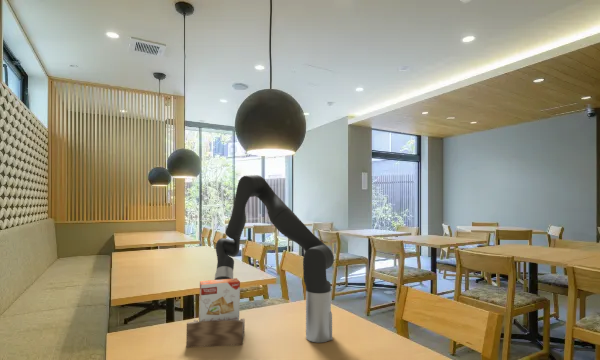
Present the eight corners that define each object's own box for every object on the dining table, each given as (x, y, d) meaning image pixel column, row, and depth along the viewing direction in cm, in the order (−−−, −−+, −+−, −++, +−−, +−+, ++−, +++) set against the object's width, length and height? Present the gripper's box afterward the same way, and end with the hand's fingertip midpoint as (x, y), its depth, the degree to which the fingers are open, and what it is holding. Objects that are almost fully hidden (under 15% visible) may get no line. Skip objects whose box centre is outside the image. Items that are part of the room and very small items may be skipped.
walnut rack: (244, 331, 128) (244, 310, 129) (242, 344, 117) (242, 321, 117) (193, 333, 126) (194, 312, 127) (186, 347, 115) (186, 323, 115)
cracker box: (199, 345, 116) (200, 284, 118) (198, 338, 122) (199, 280, 123) (239, 339, 122) (240, 280, 123) (236, 332, 127) (237, 277, 129)
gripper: (206, 275, 135) (199, 317, 123) (239, 275, 136) (235, 317, 124) (208, 285, 140) (201, 326, 128) (240, 284, 141) (236, 325, 129)
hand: (218, 321), depth 126 cm, fingers closed
